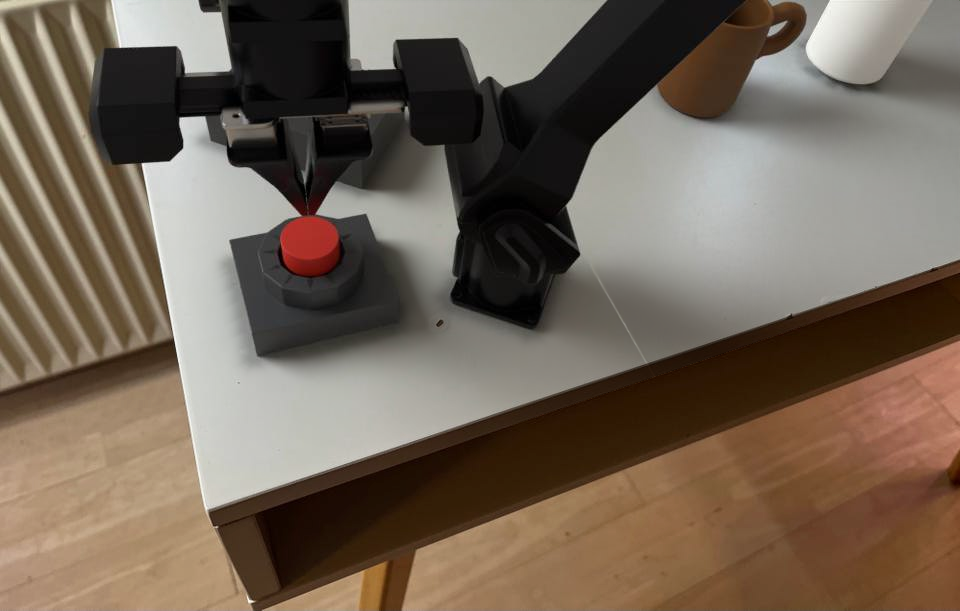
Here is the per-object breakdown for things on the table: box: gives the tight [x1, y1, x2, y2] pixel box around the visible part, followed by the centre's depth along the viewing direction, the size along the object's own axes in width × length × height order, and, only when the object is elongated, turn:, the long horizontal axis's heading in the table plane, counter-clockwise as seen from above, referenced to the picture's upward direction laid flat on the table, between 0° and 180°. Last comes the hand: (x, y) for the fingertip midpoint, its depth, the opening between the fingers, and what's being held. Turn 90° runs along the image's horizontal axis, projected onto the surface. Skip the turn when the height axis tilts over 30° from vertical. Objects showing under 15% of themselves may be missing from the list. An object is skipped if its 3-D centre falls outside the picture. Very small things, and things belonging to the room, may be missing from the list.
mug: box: [656, 0, 808, 118], centre depth 67 cm, size 12×8×9 cm, turn 104°
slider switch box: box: [204, 68, 406, 190], centre depth 59 cm, size 13×9×4 cm
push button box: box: [228, 213, 400, 357], centre depth 50 cm, size 10×8×4 cm
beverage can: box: [805, 0, 934, 85], centre depth 71 cm, size 8×8×12 cm
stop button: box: [280, 217, 340, 277], centre depth 47 cm, size 4×4×2 cm
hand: (307, 210), depth 45 cm, fingers closed
